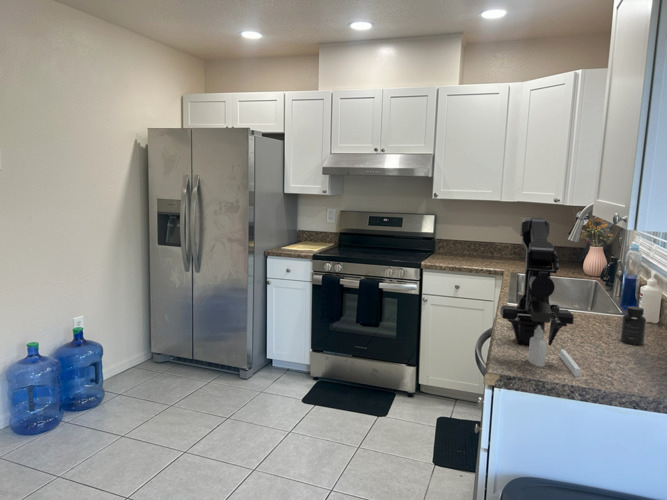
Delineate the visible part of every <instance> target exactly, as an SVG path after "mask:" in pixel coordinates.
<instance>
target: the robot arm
mask: <svg viewBox="0 0 667 500" xmlns="http://www.w3.org/2000/svg"><path fill="white" fill-rule="evenodd" d="M550 225H551V224H550V223H549V222H547V218H543V217H531V218H530V217H529V218H528V220H525V221H522V222H521V224H520V231H519V232H520V233H519V235H520V237H521V243H522V244H523V246H524V249H525V250H526V251H525V264H524V265H525V266H524V267H525V268H524V285H523V291H524V294H523V296H522V297H521V298H520V300H519V301H518V300H517V303H518V306H517V305H504V304H503V305H502V306H501V307H500V312H499V314H500V316H501V317H502V318H501V319H503V320H507V322H508V323H511V326H512V329H513V334H514V339H515V341H516V344H517V345H522V346H523V345H526V346H529V344H530V338H531V337H534V330H535V329H537V326H538V325H541V327H543V326H544V322H545V324H549V323H550V327H549V332H548V333H549V334H548V345H549V346H552V343H553V342H554V339H555V338H556V337H557V335H558V332H559V331H561V329H562V328H563V327H567V326H568V325H574V321H575V320H574V319H575V317H574V315H573V313H571V311H569V310H568V309H563V308H561V309H560V305H559V304H550V296H552V294H553V293H554V291H555V283H554V281H553V280H552V278H551V274H557V272H558V270H559V269H560V265H559V255H558V254H557V253H558V252H557V251H556V250H555V247H554V244H553V243H551V242H549V241H548V237H549V236H550ZM517 318H519V319H517Z"/></svg>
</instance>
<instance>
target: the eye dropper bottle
mask: <svg viewBox="0 0 667 500" xmlns="http://www.w3.org/2000/svg"><path fill="white" fill-rule="evenodd" d="M544 333H545V330H544V331H543V330H542V329H541V325H538V328H537V329H535V330H534V337H531V338H530V344H529V345H528V346H529V348H528V357H527V358H528V359H527V360H528V362H529V363H530V364H531V365H533V366H536V367H541V368H543V367H545V366H546V354H547V342H546V339H545V338H544Z"/></svg>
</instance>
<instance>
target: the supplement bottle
mask: <svg viewBox="0 0 667 500" xmlns="http://www.w3.org/2000/svg"><path fill="white" fill-rule="evenodd" d="M643 315H644V308H643V307H639V306H633V305H632V306H631V305H630V306H627V307H626V314H624V315H623V316H622V319H621V320H622V321H621V331H620V332H621V333H620V341H621V342H622V343H624V344H627V345H631V346H642V345H644V344H645V338H646V337H645V335H646V326H647V320H646V317H645V316H643Z"/></svg>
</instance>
